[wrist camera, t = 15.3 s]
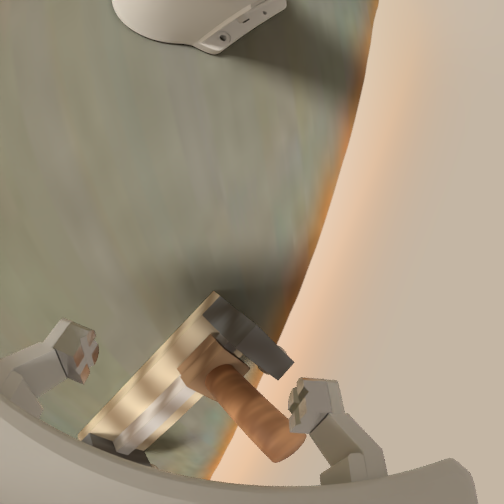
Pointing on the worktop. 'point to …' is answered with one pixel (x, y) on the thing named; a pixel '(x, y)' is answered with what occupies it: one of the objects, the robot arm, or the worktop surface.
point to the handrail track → (154, 381)
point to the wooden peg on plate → (239, 398)
